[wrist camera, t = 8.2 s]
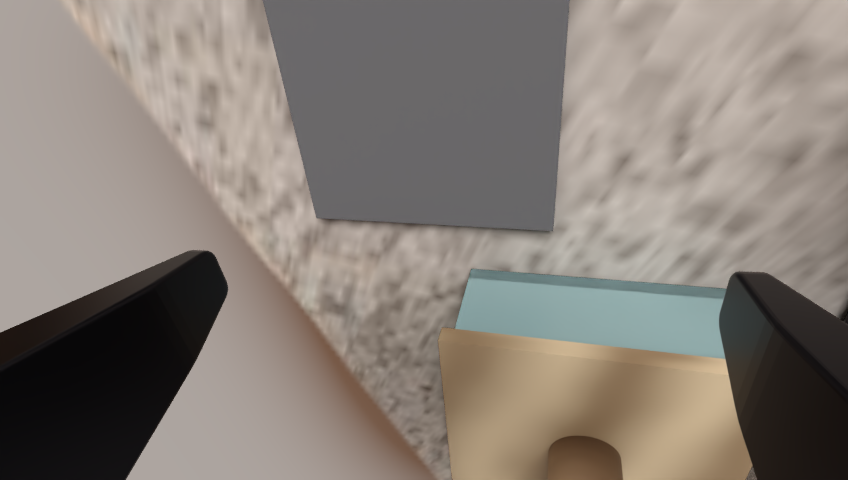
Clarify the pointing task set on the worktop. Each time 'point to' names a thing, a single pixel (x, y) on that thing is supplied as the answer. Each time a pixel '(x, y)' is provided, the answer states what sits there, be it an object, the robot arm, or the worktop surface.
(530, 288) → the light blue box
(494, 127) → the mat
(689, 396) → the lid
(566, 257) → the worktop surface
